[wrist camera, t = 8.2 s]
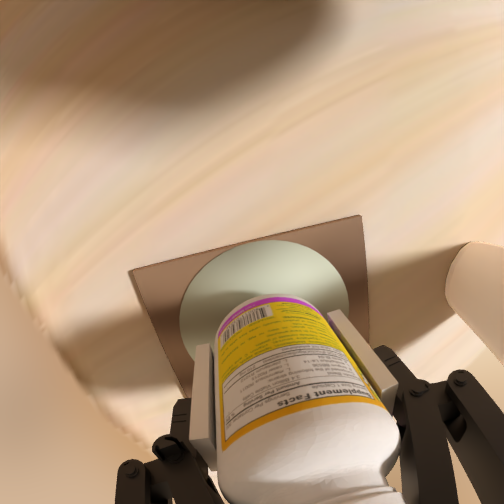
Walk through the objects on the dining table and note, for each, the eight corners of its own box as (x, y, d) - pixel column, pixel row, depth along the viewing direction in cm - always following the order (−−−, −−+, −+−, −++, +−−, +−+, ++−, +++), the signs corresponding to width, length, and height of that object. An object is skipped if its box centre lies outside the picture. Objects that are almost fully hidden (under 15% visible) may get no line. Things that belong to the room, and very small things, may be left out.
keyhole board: (134, 269, 16) (102, 311, 11) (358, 214, 17) (409, 235, 11) (226, 460, 22) (229, 503, 17) (362, 424, 23) (382, 463, 18)
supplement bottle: (305, 383, 18) (372, 550, 5) (206, 374, 17) (211, 576, 4) (338, 296, 16) (483, 471, 4) (225, 278, 15) (254, 548, 3)
